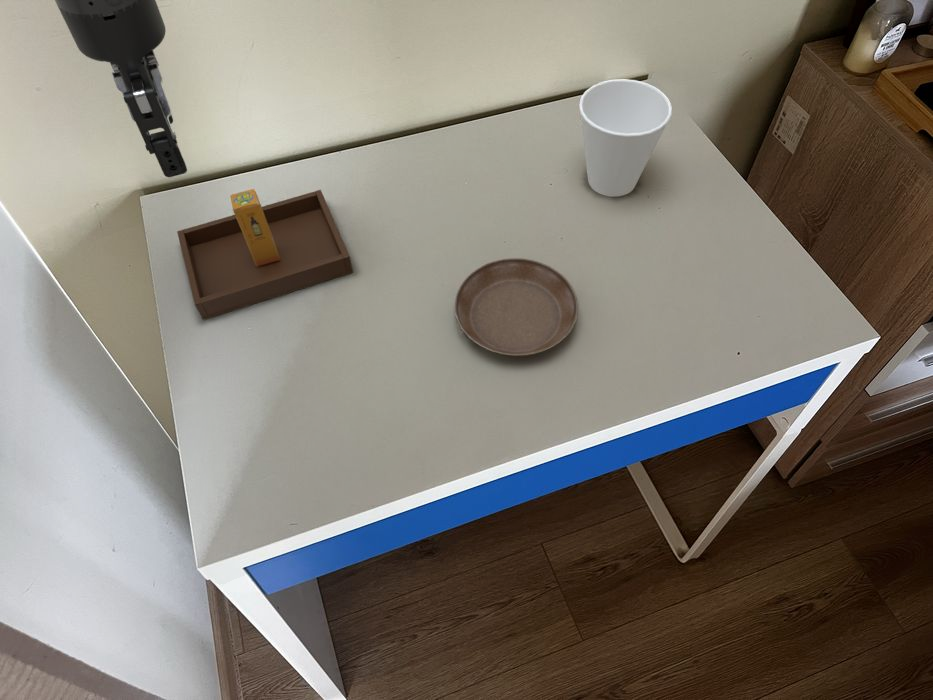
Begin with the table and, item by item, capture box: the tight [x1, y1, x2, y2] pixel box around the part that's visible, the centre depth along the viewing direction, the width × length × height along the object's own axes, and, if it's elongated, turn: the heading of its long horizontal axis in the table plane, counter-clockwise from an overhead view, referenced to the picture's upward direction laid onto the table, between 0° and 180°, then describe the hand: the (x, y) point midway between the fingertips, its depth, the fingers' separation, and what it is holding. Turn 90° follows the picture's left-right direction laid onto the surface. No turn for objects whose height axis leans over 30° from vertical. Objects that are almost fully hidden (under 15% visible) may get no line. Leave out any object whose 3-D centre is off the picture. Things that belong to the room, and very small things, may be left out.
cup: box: [578, 78, 673, 198], centre depth 95 cm, size 12×12×12 cm
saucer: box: [454, 257, 579, 357], centre depth 85 cm, size 15×15×3 cm
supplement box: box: [229, 188, 280, 267], centre depth 89 cm, size 3×3×10 cm
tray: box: [176, 189, 354, 321], centre depth 92 cm, size 20×14×3 cm
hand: (169, 148), depth 71 cm, fingers open, 8 cm apart
